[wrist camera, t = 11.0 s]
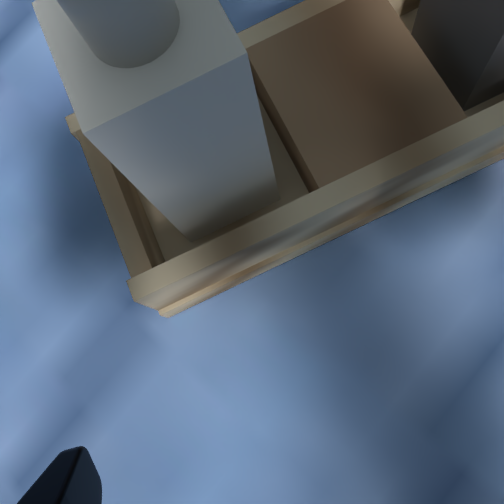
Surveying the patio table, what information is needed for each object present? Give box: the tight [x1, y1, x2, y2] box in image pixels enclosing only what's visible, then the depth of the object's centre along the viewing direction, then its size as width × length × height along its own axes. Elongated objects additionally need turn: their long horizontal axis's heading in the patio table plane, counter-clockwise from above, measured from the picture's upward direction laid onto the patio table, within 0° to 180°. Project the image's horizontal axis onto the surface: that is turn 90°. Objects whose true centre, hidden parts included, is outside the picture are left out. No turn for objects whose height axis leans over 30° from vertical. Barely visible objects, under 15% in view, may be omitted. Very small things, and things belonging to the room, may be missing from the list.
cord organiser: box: [65, 0, 504, 318], centre depth 19 cm, size 20×8×4 cm, turn 114°
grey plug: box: [32, 0, 280, 243], centre depth 13 cm, size 4×4×12 cm
